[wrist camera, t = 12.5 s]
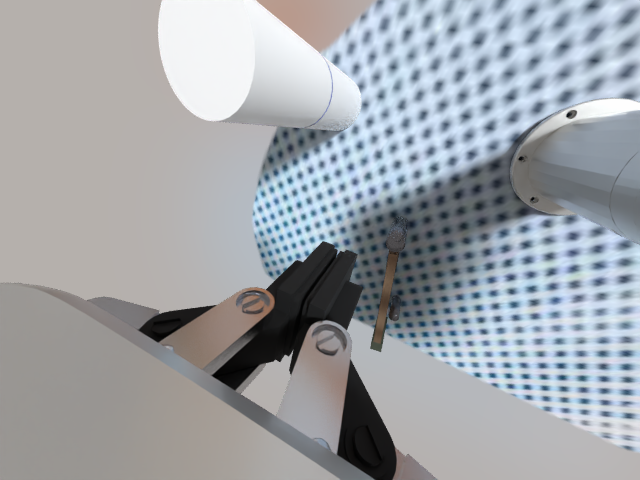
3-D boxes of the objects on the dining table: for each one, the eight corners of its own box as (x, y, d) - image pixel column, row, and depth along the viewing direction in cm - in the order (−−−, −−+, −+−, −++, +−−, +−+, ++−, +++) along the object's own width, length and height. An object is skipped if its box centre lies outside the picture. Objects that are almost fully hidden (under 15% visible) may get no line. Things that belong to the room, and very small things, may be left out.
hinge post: (409, 217, 37) (406, 237, 30) (406, 231, 38) (403, 253, 31) (394, 215, 37) (387, 234, 30) (391, 229, 38) (384, 250, 31)
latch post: (401, 297, 43) (399, 314, 38) (400, 303, 43) (397, 321, 39) (392, 294, 43) (389, 311, 39) (391, 301, 44) (388, 319, 40)
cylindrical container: (347, 139, 36) (238, 141, 15) (309, 117, 37) (156, 91, 16) (370, 89, 32) (271, -5, 11) (327, 67, 33) (160, -59, 12)
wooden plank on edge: (392, 234, 38) (386, 252, 32) (403, 236, 37) (400, 255, 31) (377, 321, 46) (370, 348, 40) (386, 323, 45) (380, 352, 39)
